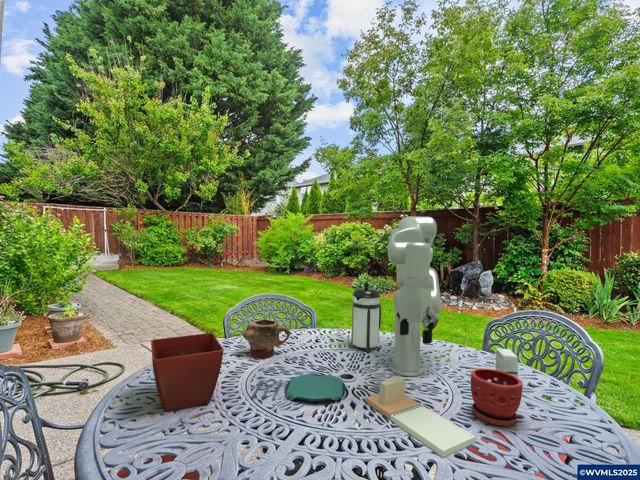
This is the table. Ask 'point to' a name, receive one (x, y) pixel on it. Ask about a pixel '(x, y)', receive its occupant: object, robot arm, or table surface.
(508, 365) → the ink box
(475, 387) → the plant pot
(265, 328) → the brown sculpted mug
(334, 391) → the cutlery set
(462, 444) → the pale green notepad
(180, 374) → the plant pot
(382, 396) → the light switch
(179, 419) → the table surface
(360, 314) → the coffee press
